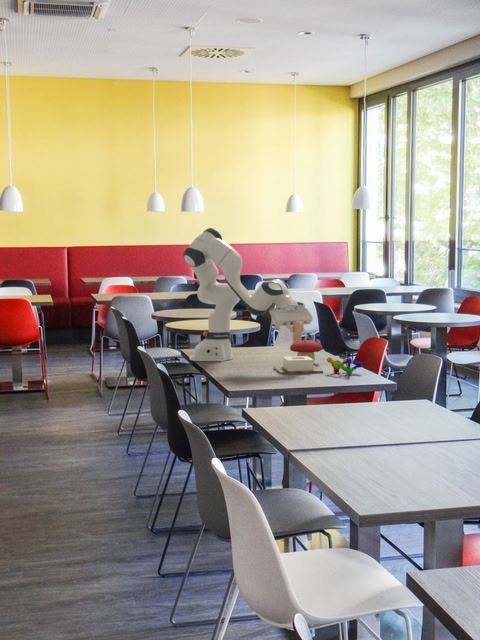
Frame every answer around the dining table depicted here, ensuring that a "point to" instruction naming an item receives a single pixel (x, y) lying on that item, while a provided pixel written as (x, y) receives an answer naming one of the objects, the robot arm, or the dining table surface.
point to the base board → (284, 371)
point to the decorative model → (340, 365)
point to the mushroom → (306, 348)
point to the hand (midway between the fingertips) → (297, 330)
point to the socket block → (298, 363)
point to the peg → (297, 332)
